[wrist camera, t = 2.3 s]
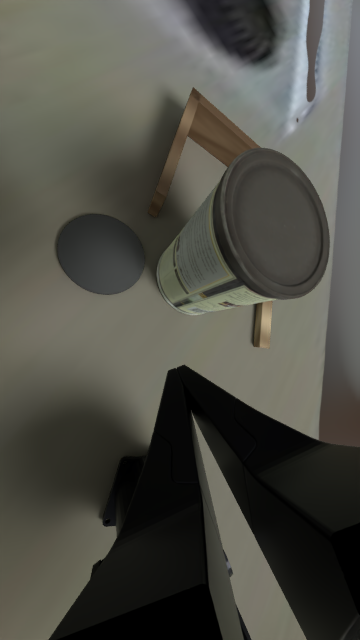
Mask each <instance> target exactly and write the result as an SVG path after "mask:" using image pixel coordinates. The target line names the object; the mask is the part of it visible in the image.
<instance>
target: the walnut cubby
mask: <svg viewBox="0 0 360 640" xmlns="http://www.w3.org/2000/svg"><path fill="white" fill-rule="evenodd" d="M187 136H189V137H190V138H191V139H193V140H194V141H195V142H197V143H198V144H199V145H200V146H202V147H203V148H204V149H206V150H207V151H208V152H209V153H211V154H212V155H213V156H215V157H216V158H217V159H218V160H220V161H221V162H222V163H224V164H225V165H226V166H227V167H229V165H230V164H231V163H232V161H233V160H234V159H235V158H236V157H237V156H238V155H240V154H241V153H243V152H245V151H246V150H249V149H253V148H261V147H260V146H258V145H257V144H256V143H255V142H254V141H253V140H252V139H251V138H249V137H248V136H247V135H246V134H245V133H244V132H243V131H242V130H240V129H239V128H238V127H237V126H236V125H235V124H234V123H233V122H232V121H230V120H229V119H228V118H227V117H226V116H225V115H224V114H223V113H221V112H220V111H219V110H218V109H217V108H216V107H215V106H214V105H212V104H211V103H210V102H209V101H208V100H207V99H206V98H205V97H204V96H202V95H201V94H200V93H199V92H198V91H197V90H196V89H195V88H193V89H192V91H191V94H190V97H189V99H188V102H187V105H186V107H185V110H184V113H183V115H182V118H181V120H180V123H179V126H178V129H177V132H176V134H175V137H174V140H173V143H172V146H171V148H170V151H169V154H168V157H167V160H166V162H165V165H164V168H163V171H162V174H161V176H160V179H159V182H158V185H157V188H156V190H155V193H154V196H153V199H152V202H151V204H150V207H149V210H148V213H149V214H151V215H153V216H154V217H157V215H158V213H159V211H160V209H161V207H162V205H163V203H164V201H165V199H166V197H167V194H168V191H169V188H170V185H171V182H172V179H173V176H174V173H175V170H176V167H177V164H178V162H179V159H180V156H181V153H182V150H183V147H184V144H185V141H186V138H187Z"/></svg>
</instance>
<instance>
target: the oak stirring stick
mask: <svg viewBox="0 0 360 640" xmlns="http://www.w3.org/2000/svg"><path fill="white" fill-rule="evenodd" d="M271 315H272V300H271V301H266V302H261V303H257V307H256V321H255V335H254V347H261V348H269V346H270V330H271Z"/></svg>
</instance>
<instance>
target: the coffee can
mask: <svg viewBox="0 0 360 640" xmlns="http://www.w3.org/2000/svg"><path fill="white" fill-rule="evenodd" d="M329 248H330V237H329V229H328V223H327V218H326V214H325V211H324V208H323V205H322V202H321V200H320V198H319V195H318V193H317V192H316V190H315V188H314V186H313V184H312V183H311V181H310V180H309V179H308V177H307V176H306V175H305V173H304V172H303V171H302V170H301V169H300V167H299V166H297V165H296V164H295V163H294V162H293V161H292V160H290V159H289V158H288V157H286V156H285V155H283V154H282V153H280V152H277V151H275V150H272V149H268V148H253V149H249V150H246V151H245V152H243V153H241V154H240V155H238V156H237V157H236V158H235V159H234V160H233V161H232V163H231V164H230V165H229V167H228V168H227V170H226V171H225V173H224V174H223V176H222V178H221V180H220V182H219V183H218V184H217V185H216V187H215V188H214V189H213V191H212V192H211V193H210V194H209V196H208V197H207V198H206V200H205V201H204V202H203V203H202V205H201V206H200V207H199V209H198V210H197V211H196V212H195V214H194V215H193V216H192V217H191V219H190V220H189V221H188V223H187V224H186V225H185V226H184V228H183V229H182V230H181V232H180V233H179V234H178V236H177V237H176V238H175V239H174V241H173V242H172V243H171V245H170V246H169V247H168V248H167V249H166V250H165V251H164V252H163V254H162V255H161V257H160V259H159V262H158V266H157V282H158V286H159V289H160V292H161V294H162V295H163V297H164V299H165V300H166V301H167V302H168V304H169V305H171V306H172V307H173V308H174V309H176V310H177V311H179V312H181V313H184V314H188V315H199V314H204V313H207V312H213V311H218V310H223V309H229V308H234V307H239V306H245V305H250V304H255V303H261V302H266V301H271V300H277V299H281V300H285V299H294V298H299V297H302V296H304V295H306V294H308V293H309V292H311V291H312V290H313V289H314V288H315V287H316V286H317V285H318V283H319V282H320V281H321V279H322V277H323V275H324V273H325V270H326V267H327V263H328V257H329Z"/></svg>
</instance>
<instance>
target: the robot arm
mask: <svg viewBox="0 0 360 640" xmlns="http://www.w3.org/2000/svg"><path fill="white" fill-rule="evenodd" d="M191 412H192V413H191ZM192 414H193V416H194V418H195V420H196V422H197V424H198V426H199V428H200V430H201V432H202V434H203V436H204V438H205V440H206V442H207V444H208V446H209V448H210V450H211V452H212V454H213V456H214V458H215V460H216V462H217V464H218V466H219V467H220V469H221V471H222V473H223V475H224V477H225V479H226V481H227V483H228V485H229V487H230V489H231V491H232V493H233V495H234V497H235V499H236V501H237V503H238V505H239V507H240V509H241V511H242V513H243V515H244V517H245V519H246V521H247V523H248V524H249V526H250V528H251V530H252V532H253V534H254V536H255V538H256V540H257V542H258V544H259V546H260V548H261V550H262V552H263V554H264V556H265V558H266V560H267V562H268V564H269V566H270V568H271V570H272V572H273V574H274V576H275V578H276V580H277V582H278V584H279V586H280V588H281V589H282V591H283V593H284V595H285V597H286V599H287V601H288V603H289V605H290V607H291V609H292V611H293V613H294V615H295V617H296V619H297V621H298V623H299V625H300V627H301V629H302V631H303V633H304V635H305V637H306V639H307V640H360V447H354V446H344V445H336V444H330V443H325V442H322V441H319V440H316V439H314V438H311V437H309V436H307V435H305V434H303V433H301V432H299V431H297V430H295V429H293V428H291V427H289V426H287V425H285V424H283V423H281V422H279V421H277V420H275V419H273V418H271V417H269V416H267V415H265V414H263V413H261V412H259V411H257V410H255V409H254V408H252V407H250V406H249V405H247V404H245V403H244V402H242V401H241V400H239V399H238V398H236V397H234V396H233V395H231V394H230V393H228V392H226V391H225V390H223V389H222V388H220V387H219V386H217V385H215V384H214V383H212V382H211V381H209V380H208V379H206V378H205V377H203V376H201V375H200V374H198V373H197V372H195V371H194V370H192V369H190V368H189V367H187V366H186V365H182V366H179V367H177V369H176V368H174V369H171V370H169V371H168V373H167V377H166V381H165V385H164V389H163V394H162V398H161V402H160V406H159V410H158V414H157V418H156V423H155V427H154V432H153V435H152V439H151V443H150V446H149V450H148V454H147V456H141V457H123V458H122V459H121V460H120V463H119V466H118V469H117V473H116V476H115V479H114V483H113V486H112V489H111V492H110V496H109V499H108V502H107V506H106V509H105V512H104V516H103V525H104V526H106V527H107V526H116V531H117V538H116V540H115V542H114V544H113V546H112V548H111V549H110V551H109V553H108V554H107V556H106V557H105V558H104V559H103V560H102V561H101V560H99V561H98V562H97V563H95V564H94V565H93V568H92V573H91V578H90V580H89V582H88V583H87V585H86V586H85V588H84V589H83V591H82V592H81V593H80V595H79V596H78V598H77V599H76V601H75V602H74V604H73V605H72V606H71V608H70V609H69V611H68V612H67V614H66V615H65V617H64V618H63V619H62V621H61V622H60V624H59V625H58V627H57V628H56V630H55V631H54V632H53V634H52V635H51V637H50V638H49V640H251V638H250V635H249V633H248V631H247V628H246V626H245V624H244V622H243V619H242V617H241V615H240V612H239V610H238V608H237V606H236V603H235V599H234V595H233V590H232V586H231V582H230V577H231V576H232V574H233V572H232V569H231V566H230V564H229V561H228V559H227V556H226V554H225V552H224V550H223V547H222V543H221V538H220V534H219V530H218V525H217V521H216V516H215V512H214V508H213V503H212V499H211V495H210V490H209V486H208V482H207V477H206V473H205V469H204V464H203V460H202V455H201V451H200V447H199V442H198V438H197V434H196V429H195V425H194V421H193V417H192ZM124 461H127V462H126V463H125V464H123V462H124ZM108 518H110V519H109V520H106V519H108Z"/></svg>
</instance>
